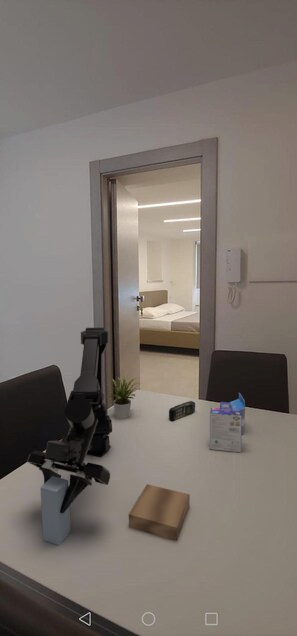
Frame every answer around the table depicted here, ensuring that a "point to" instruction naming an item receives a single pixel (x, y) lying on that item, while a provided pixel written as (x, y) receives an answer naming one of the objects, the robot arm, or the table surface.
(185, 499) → the walnut block
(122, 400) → the house plant
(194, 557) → the table surface
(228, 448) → the ink cartridge box
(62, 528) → the slate block
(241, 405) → the label tape box
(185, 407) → the mobile phone
